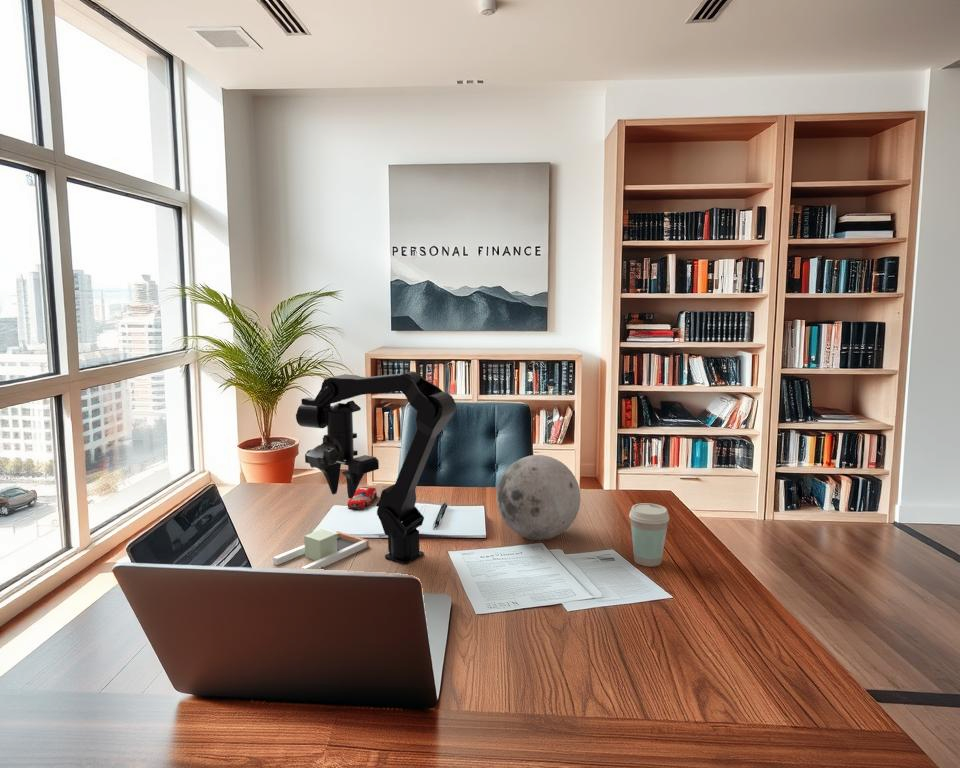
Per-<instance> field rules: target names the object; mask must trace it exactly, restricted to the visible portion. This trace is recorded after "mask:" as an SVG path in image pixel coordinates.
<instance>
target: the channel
mask: <svg viewBox="0 0 960 768" xmlns="http://www.w3.org/2000/svg"><path fill="white" fill-rule="evenodd" d="M336 532H337V531H335V532H333V533H336ZM336 534H337V539H338V538H339V533H336ZM364 549H367V548H366V541H363V540H362V541H360V542H358V543H355V544H353V545H351V546H348V547H346V548H344V549H342V550H339V551H337V552H335V553H333V554H330V555H328V556H326V557H324V558H321V559H319V560H317V561H316V560H314V561H313V562H310V563H308V564H305V565H304V566H301V568H304V569H319V570H320V569H322V568H319V567H323V568H325V567H327V566H329V565H331V564H333V563H336V562H338V561H340V560H342V559H344V558H347V557H349V556H351V555H353V554H355V553H358V552H360V551H362V550H364ZM302 555H305V544H303V545H300V546H298V547H295V548H293V549H290V550H288V551H286V552H283V553H281V554H278V555H276V556H273V557H272V560H273V565H274V566H275V565H276V566H278V565H281V564H283V563H286V562H288V561H290V560H292V559H294V558H298V557H300V556H302Z"/></svg>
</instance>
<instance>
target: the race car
mask: <svg viewBox="0 0 960 768" xmlns="http://www.w3.org/2000/svg"><path fill="white" fill-rule="evenodd" d="M377 493H378V491H377V489H376V487H373V486H360V487H358V488H357V489H356V492H355V494H354V496H353V498H349V500H348V501H347V508H348V509H351V510H352V509H353V510H354V509H355V510H361V509H364V510H365V509H366V508H367V507H368V506H369V505H371V503H372V502H374V500H375V499H377V496H378V494H377Z"/></svg>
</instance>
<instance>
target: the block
mask: <svg viewBox="0 0 960 768" xmlns="http://www.w3.org/2000/svg"><path fill="white" fill-rule="evenodd" d="M303 536H304V545H305V554H304V557H305V558H307V559H310V560H312V561H317V560H319V559H321V558H324V557H326V556H328V555H330V554H333V553H335V552H337V534H336V533H334V532H332V531H329V530H326V529H323V528H321V529H318V530H315V531H314V532H311V533H309V534H306V535H303Z"/></svg>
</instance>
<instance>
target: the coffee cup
mask: <svg viewBox="0 0 960 768" xmlns="http://www.w3.org/2000/svg"><path fill="white" fill-rule="evenodd" d="M628 517H629V518H630V527H631V528H630V530H631V541H632V550H633V560H634V562H635V564H637V565H641V566H643V567H657V566H660V565H661V564H662V560H663V555H664V548H665V542H666V535H667V530H668V523H669V521H670V514H669V512H668V509H667V507H666V506H663V505H661V504H656V503H652V502H651V503H649V502H647V503H646V502H643V503H636V504H633V505H632V506H631V509H630V511H629V514H628Z"/></svg>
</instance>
